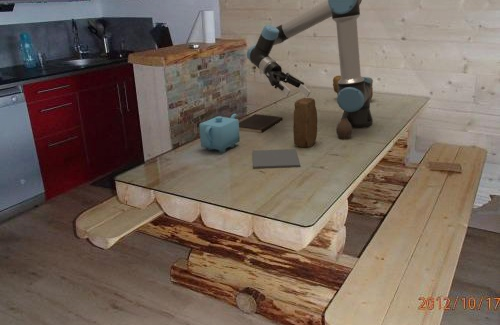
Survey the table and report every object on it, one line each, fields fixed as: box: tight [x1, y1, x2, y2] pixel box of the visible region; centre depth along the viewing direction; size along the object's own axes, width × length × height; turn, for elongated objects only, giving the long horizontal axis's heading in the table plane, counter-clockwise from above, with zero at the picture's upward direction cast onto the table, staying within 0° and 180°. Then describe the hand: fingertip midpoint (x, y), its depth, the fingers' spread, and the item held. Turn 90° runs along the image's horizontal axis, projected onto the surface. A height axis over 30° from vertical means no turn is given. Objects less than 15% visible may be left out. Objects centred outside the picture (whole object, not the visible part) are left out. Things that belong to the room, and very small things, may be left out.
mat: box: [252, 148, 301, 170], centre depth 179 cm, size 18×18×1 cm
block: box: [292, 97, 318, 148], centre depth 191 cm, size 11×8×20 cm
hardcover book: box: [239, 113, 284, 134], centre depth 225 cm, size 16×23×2 cm
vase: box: [336, 117, 353, 140], centre depth 200 cm, size 7×7×9 cm
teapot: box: [198, 113, 240, 153], centre depth 194 cm, size 22×11×14 cm, turn 147°
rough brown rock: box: [332, 75, 374, 101], centre depth 257 cm, size 23×17×15 cm
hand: (299, 93), depth 197 cm, fingers open, 13 cm apart
